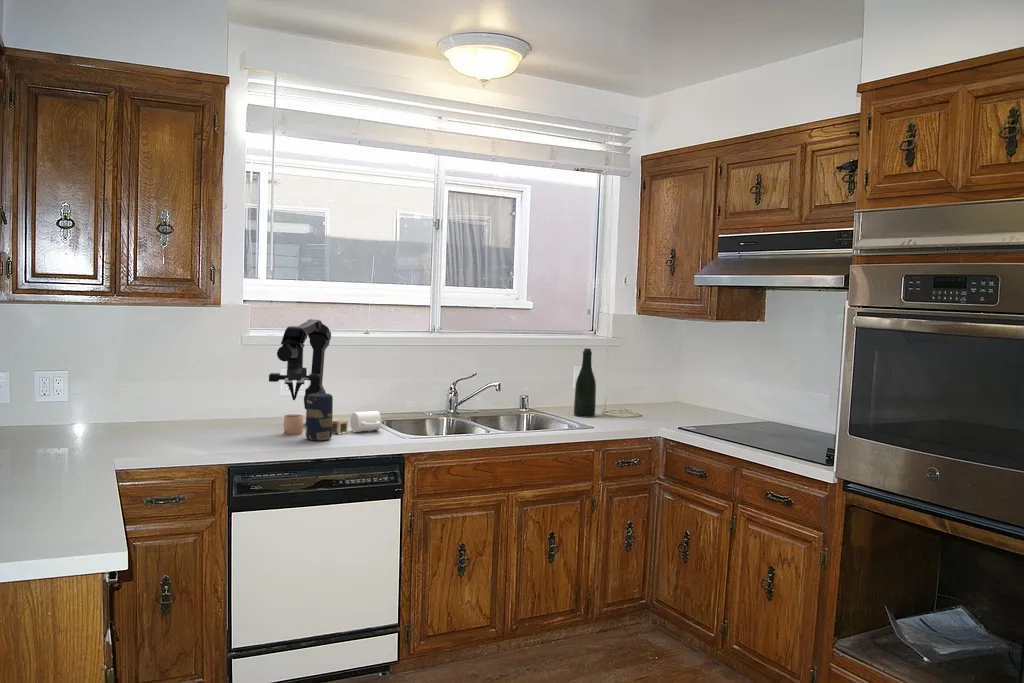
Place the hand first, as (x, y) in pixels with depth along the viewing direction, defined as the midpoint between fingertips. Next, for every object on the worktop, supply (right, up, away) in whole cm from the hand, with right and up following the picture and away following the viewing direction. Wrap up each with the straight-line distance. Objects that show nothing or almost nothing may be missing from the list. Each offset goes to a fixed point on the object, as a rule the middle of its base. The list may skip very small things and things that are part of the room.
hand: (294, 400), depth 292 cm
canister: (+11, -14, -8) cm, 20 cm away
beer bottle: (+119, -14, +80) cm, 144 cm away
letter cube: (+15, -14, +7) cm, 21 cm away
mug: (+26, -14, +11) cm, 32 cm away
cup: (-1, -13, +1) cm, 13 cm away
